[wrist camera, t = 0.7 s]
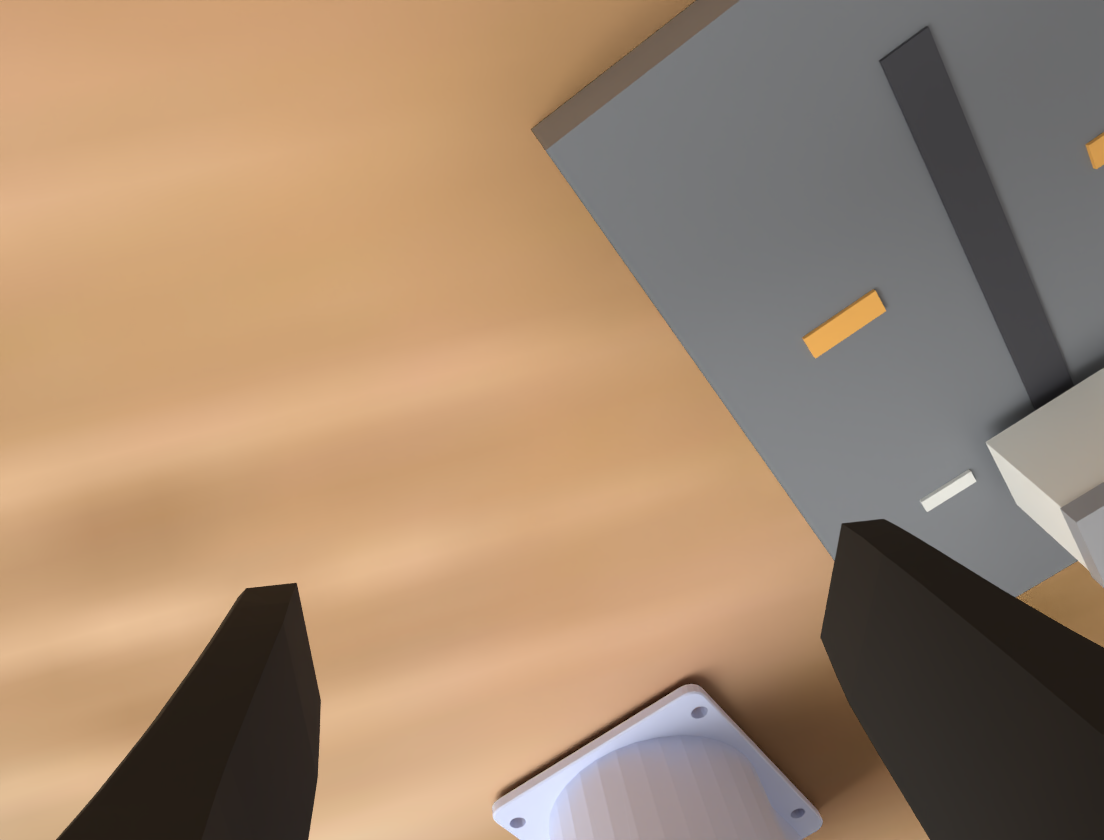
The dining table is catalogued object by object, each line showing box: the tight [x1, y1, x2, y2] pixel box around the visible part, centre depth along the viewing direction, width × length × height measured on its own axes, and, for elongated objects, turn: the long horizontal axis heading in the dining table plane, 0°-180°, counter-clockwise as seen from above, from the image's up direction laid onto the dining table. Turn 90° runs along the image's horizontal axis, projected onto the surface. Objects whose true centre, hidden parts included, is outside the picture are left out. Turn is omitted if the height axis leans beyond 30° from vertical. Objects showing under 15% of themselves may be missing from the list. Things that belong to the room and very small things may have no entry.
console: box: [531, 0, 1104, 597], centre depth 20 cm, size 18×13×2 cm
